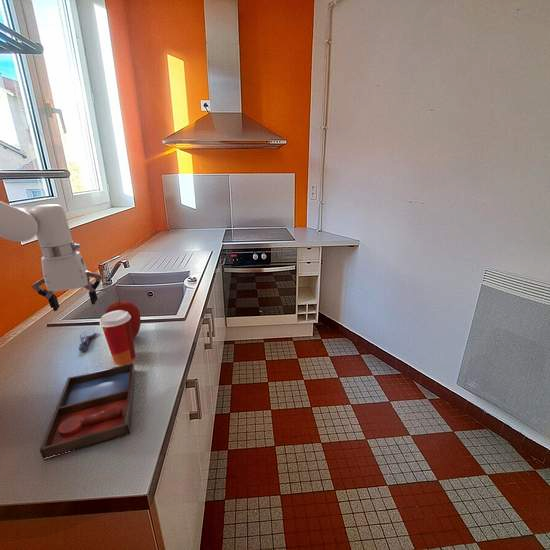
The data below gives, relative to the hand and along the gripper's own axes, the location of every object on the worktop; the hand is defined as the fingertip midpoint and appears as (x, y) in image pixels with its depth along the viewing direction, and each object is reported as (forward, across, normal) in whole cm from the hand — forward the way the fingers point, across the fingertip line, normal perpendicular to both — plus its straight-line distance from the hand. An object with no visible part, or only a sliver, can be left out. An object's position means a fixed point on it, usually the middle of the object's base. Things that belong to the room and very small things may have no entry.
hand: (75, 305), depth 89 cm
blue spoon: (+13, 0, -1) cm, 13 cm away
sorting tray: (+13, -7, +31) cm, 35 cm away
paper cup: (+14, -12, +13) cm, 22 cm away
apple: (+14, -12, +1) cm, 18 cm away
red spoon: (+12, -8, +37) cm, 39 cm away
